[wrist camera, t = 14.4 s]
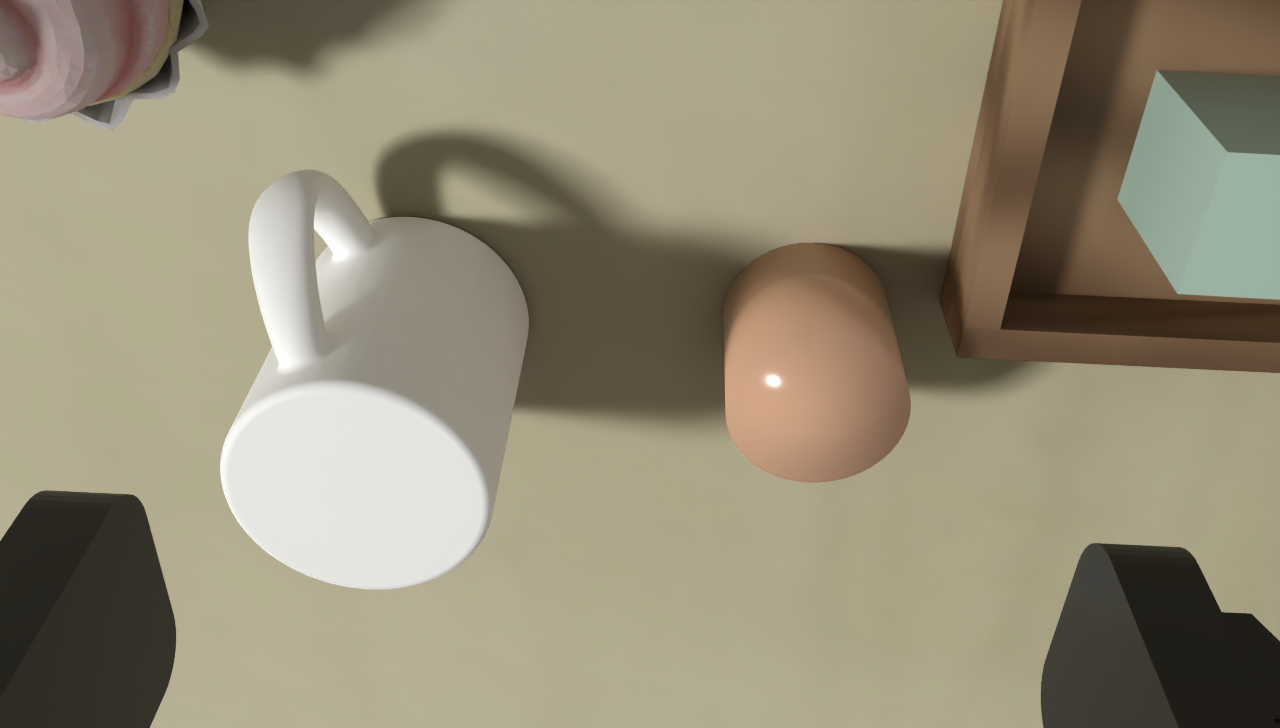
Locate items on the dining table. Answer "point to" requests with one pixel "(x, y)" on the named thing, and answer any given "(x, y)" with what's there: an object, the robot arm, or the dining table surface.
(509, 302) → the mug
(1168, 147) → the sage block
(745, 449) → the peach capsule shape
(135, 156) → the dining table surface
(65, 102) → the cupcake
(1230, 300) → the tray
